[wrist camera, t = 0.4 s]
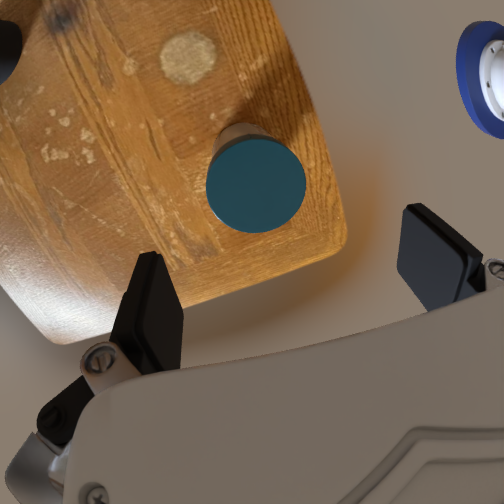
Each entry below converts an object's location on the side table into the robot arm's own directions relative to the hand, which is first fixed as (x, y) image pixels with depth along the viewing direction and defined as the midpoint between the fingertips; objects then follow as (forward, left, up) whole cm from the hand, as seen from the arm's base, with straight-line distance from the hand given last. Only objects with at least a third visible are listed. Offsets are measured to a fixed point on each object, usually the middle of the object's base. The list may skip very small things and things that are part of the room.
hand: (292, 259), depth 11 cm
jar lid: (+1, 0, -11) cm, 11 cm away
